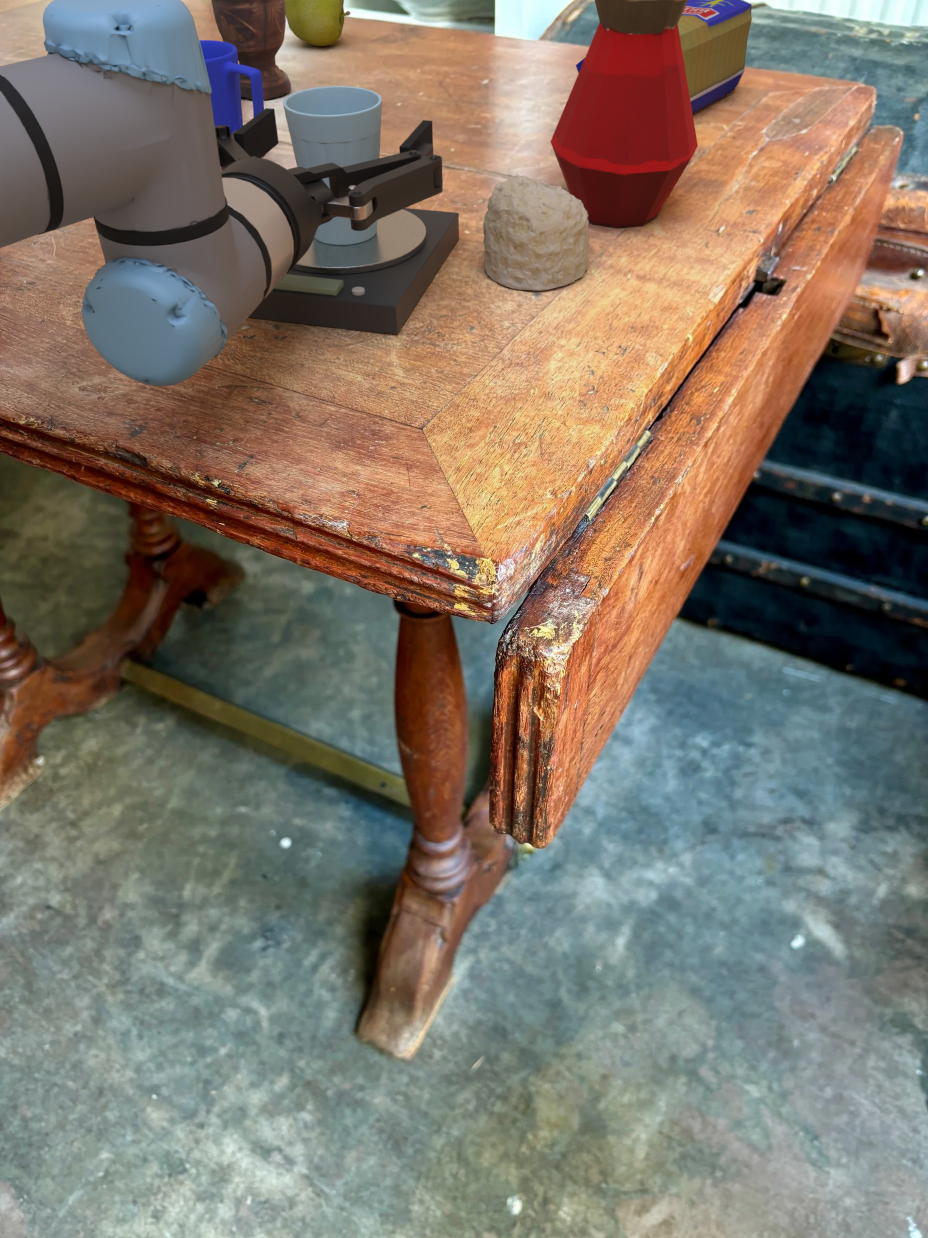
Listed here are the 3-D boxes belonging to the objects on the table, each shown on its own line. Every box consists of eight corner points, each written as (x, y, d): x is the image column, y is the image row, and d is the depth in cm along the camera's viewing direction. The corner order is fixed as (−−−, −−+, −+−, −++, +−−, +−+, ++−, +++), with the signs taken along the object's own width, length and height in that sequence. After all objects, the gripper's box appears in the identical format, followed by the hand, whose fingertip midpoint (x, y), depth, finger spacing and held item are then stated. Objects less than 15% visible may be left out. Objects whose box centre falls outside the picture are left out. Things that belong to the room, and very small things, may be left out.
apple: (350, 52, 137) (345, -15, 132) (284, 52, 137) (277, -15, 132) (356, 38, 143) (351, -28, 137) (293, 38, 143) (286, -28, 138)
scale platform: (235, 264, 81) (234, 257, 81) (298, 201, 91) (297, 195, 91) (398, 282, 79) (398, 275, 78) (445, 215, 89) (445, 208, 88)
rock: (534, 287, 92) (477, 188, 88) (623, 241, 87) (566, 133, 83) (500, 331, 86) (436, 226, 82) (593, 284, 80) (529, 169, 76)
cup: (279, 235, 84) (262, 101, 77) (343, 208, 89) (332, 79, 81) (344, 258, 81) (332, 121, 74) (406, 229, 85) (401, 96, 78)
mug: (244, 178, 103) (228, 70, 96) (159, 157, 107) (137, 53, 100) (294, 154, 108) (282, 50, 101) (210, 135, 112) (193, 35, 105)
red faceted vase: (551, 176, 102) (563, -57, 88) (684, 181, 101) (717, -55, 87) (542, 238, 91) (555, -18, 77) (692, 244, 90) (732, -15, 76)
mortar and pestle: (297, 108, 119) (274, -95, 106) (224, 112, 118) (191, -92, 105) (294, 80, 128) (272, -112, 114) (226, 84, 127) (195, -109, 113)
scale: (208, 313, 80) (201, 278, 78) (295, 222, 94) (291, 191, 92) (397, 335, 77) (395, 299, 75) (459, 238, 91) (458, 206, 89)
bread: (749, 91, 123) (766, -6, 116) (649, 146, 109) (661, 39, 101) (676, 77, 127) (687, -17, 120) (571, 128, 113) (577, 25, 106)
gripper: (93, 267, 72) (217, 166, 87) (424, 304, 67) (495, 191, 82) (64, 159, 67) (201, 71, 82) (420, 191, 62) (497, 92, 77)
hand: (349, 131), depth 82 cm, fingers open, 13 cm apart
